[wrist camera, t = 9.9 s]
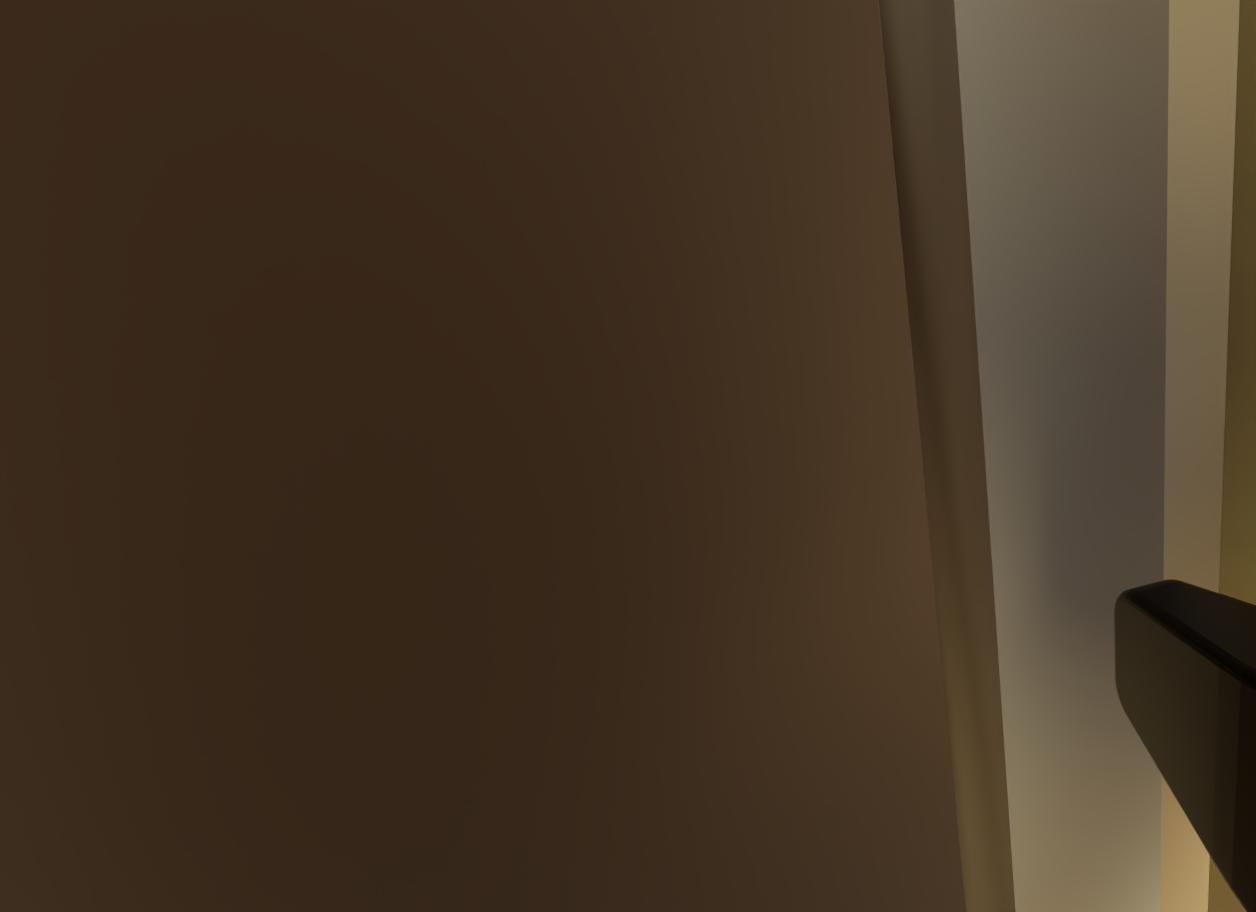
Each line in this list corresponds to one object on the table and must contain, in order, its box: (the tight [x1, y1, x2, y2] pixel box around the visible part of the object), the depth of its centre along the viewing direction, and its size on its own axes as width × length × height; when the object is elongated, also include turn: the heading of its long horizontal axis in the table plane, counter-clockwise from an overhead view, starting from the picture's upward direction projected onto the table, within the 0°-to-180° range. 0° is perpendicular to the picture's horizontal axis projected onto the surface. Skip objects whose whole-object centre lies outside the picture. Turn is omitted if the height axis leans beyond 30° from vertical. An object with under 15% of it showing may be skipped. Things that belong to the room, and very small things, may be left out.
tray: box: [878, 0, 1240, 912], centre depth 10 cm, size 14×20×2 cm
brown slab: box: [0, 0, 966, 912], centre depth 8 cm, size 4×12×6 cm, turn 12°
